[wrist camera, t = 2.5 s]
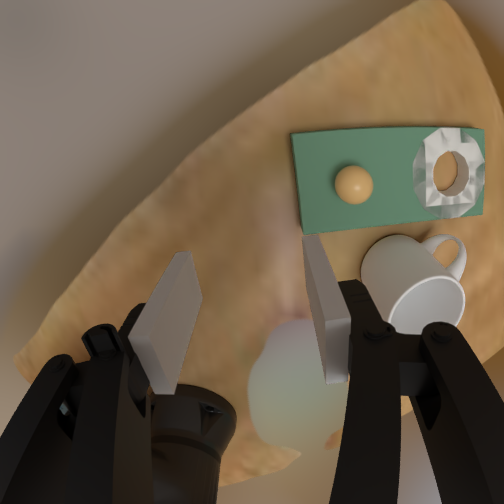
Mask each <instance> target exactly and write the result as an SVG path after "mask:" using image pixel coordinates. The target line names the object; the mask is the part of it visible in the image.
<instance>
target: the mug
mask: <svg viewBox="0 0 504 504" xmlns="http://www.w3.org/2000/svg"><path fill="white" fill-rule="evenodd" d="M446 240H455V241H456V242H457V243H458V246H459V252H458V255H457V257H456V258H455V260H454V261H453V262H452V263H451V264H450V265H449V266H448V267H447V268H444V267H443V266H442V265H441V264H440V263H439V262H438V261H437V260H436V259H435V258H434V257H433V256H432V255H433V253H434V251H435V249H436V248H437V247H438V245H439V244H441V243H442V242H444V241H446ZM465 264H466V249H465V246H464V244H463V243H462V241H461V240H459V239H458V238H457V237H455V236H452V235H448V234H439V235H435V236H433V237H431V238H429V239H427V240H425V241H424V242H422V243H419V242H417V241H416V240H414V239H413V238H411V237H408V236H405V235H392V236H388V237H385V238H383V239H381V240H380V241H378V242H377V243H375V244H374V245H373V246H372V247H371V248H370V250H369V251H368V252H367V254H366V256H365V258H364V260H363V263H362V267H361V279H362V283H363V284H364V285H365V286H366V288H367V290H368V292H369V294H370V296H371V297H372V300H373V301H374V303H375V305H376V307H377V309H378V311H379V313H380V315H381V317H382V319H383V321H386V322H388V323H390V324H391V325H393V326H394V327H395V329H396V332H399V333H403V334H421V333H422V330H423V328H424V327H425V326H426V325H427V324H429V323H432V322H440V321H442V322H447V323H450V324H452V325H454V326H455V327H456V326H457V324H458V323H459V321H460V319H461V317H462V314H463V311H464V308H465V293H464V290H463V288H462V286H461V284H460V283H459V280H460V278H461V276H462V273H463V271H464V268H465Z"/></svg>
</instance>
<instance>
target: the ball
mask: <svg viewBox="0 0 504 504" xmlns="http://www.w3.org/2000/svg"><path fill="white" fill-rule="evenodd" d="M335 190H336V192H337V194H338V196H339V197H340V198H341V199H342V200H343V201H344V202H346V203H349V204H354V205H356V204H361V203H363V202H365V201H366V200H367V199H368V198H369V197H370V196H371V194H372V191H373V180H372V177H371V175H370V174H369V173H368V172H367V171H366V170H365V169H364V168H362V167H360V166H355V165H352V166H347V167H345V168H343V169H342V170H341V171H340V172H339V173H338V174H337V176H336V179H335Z"/></svg>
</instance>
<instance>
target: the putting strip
mask: <svg viewBox="0 0 504 504" xmlns="http://www.w3.org/2000/svg"><path fill="white" fill-rule="evenodd" d="M290 137H291V144H292V152H293V160H294V168H295V176H296V185H297V193H298V202H299V212H300V221H301V228H302V231H303V234H304V235H308V234H316V233H324V232H333V231H341V230H350V229H358V228H367V227H376V226H384V225H393V224H402V223H411V222H420V221H429V220H438V219H447V218H456V217H465V216H475V215H482V214H483V200H484V180H485V138H484V129H478V128H472V127H449V126H386V127H362V128H345V129H331V130H318V131H308V132H298V133H290ZM446 151H450V152H451V153H453V155H454V157H455V159H456V161H457V163H458V175H457V177H456V179H455V181H454V184H453V185H452V186H450V187H449V188H448V189H447V190H445V191H438V190H437V188H436V186H435V184H434V182H433V168H434V165H435V163H436V161H437V159H438V157H439V156H441V155H442V154H443V153H445V152H446ZM352 165H355V166H360V167H362V168H364V169H365V170H366V171H367V172H368V173H369V174H370V175H371V177H372V180H373V191H372V194H371V196H370V197H369V198H368V199H367V200H366V201H365V202H363V203H361V204H356V205H354V204H349V203H346V202H344V201H343V200H342V199H341V198H340V197H339V196H338V194H337V192H336V190H335V179H336V176H337V174H338V173H339V172H340V171H341V170H342V169H343V168H345V167H347V166H352Z"/></svg>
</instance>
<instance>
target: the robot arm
mask: <svg viewBox="0 0 504 504" xmlns="http://www.w3.org/2000/svg"><path fill="white" fill-rule="evenodd" d="M302 244H303V255H304V266H305V278H306V288H307V293H308V298H309V302H310V307H311V312H312V316H313V321H314V326H315V331H316V336H317V341H318V346H319V351H320V356H321V361H322V366H323V371H324V376H325V382H326V384H332V383H339V382H345V381H348V373H349V375H350V382H349V390H348V398H347V406H346V413H345V420H344V427H343V433H342V439H341V445H340V451H339V457H338V463H337V468H336V473H335V478H334V483H333V488H332V492H331V497H330V501H329V504H397V498H398V486H399V472H400V451H401V396H409V398H410V401H411V404H412V407H413V410H414V413H415V415H416V418H417V421H418V424H419V427H420V430H421V433H422V436H423V439H424V443H425V445H426V449H427V452H428V455H429V459H430V462H431V465H432V469H433V472H434V475H435V479H436V483H437V486H438V490H439V494H440V498H441V502H442V504H504V402H503V401H502V399H501V397H500V395H499V393H498V391H497V390H496V389H495V386H494V385H493V383H492V381H491V379H490V378H489V376H488V374H487V373H486V371H485V369H484V368H483V366H482V365H481V363H480V361H479V360H478V358H477V357H476V355H475V353H474V352H473V350H472V349H471V347H470V346H469V344H468V343H467V341H466V340H465V338H464V337H463V335H462V334H461V332H460V331H459V330H458V329H457V328H456V327H455V326H454V325H452V324H450V323H447V322H442V321H440V322H432V323H429V324H427V325H426V326H425V327H424V328H423V330H422V333H421V334H403V333H399V332H396V329H395V327H394V326H393V325H391V324H390V323H388V322H386V321H383V319H382V317H381V315H380V313H379V311H378V309H377V307H376V305H375V303H374V301H373V300H372V297H371V296H370V294H369V292H368V290H367V288H366V286H365V285H364V284H363V283H361V282H360V281H358V280H357V279H355V280H348V281H341V282H337V280H336V277H335V275H334V272H333V270H332V268H331V265H330V263H329V260H328V258H327V255H326V253H325V250H324V248H323V246H322V243H321V241H320V239H319V236H318V235H311V236H303V237H302ZM202 300H203V297H202V294H201V290H200V286H199V282H198V278H197V274H196V270H195V266H194V262H193V258H192V254H191V251H183V252H176V253H175V255H174V257H173V258H172V260H171V262H170V263H169V265H168V267H167V268H166V270H165V272H164V274H163V275H162V277H161V279H160V280H159V282H158V284H157V286H156V287H155V289H154V291H153V293H152V294H151V296H150V298H149V300H148V301H147V303H140V304H138V305H137V306H136V307H134V308H133V309H132V310H131V311H130V313H129V314H128V316H127V318H126V320H125V321H124V323H123V326H121V328H120V330H119V331H118V332H117V330H116V328H115V327H114V326H113V325H111V324H100V325H97V326H94V327H92V328H91V329H89V330H88V331H86V332H85V333H84V334H83V336H82V338H81V339H82V341H83V343H84V345H85V347H86V349H87V351H88V353H89V354H90V356H91V359H90V361H85V362H81V363H76V364H75V362H74V361H73V359H72V357H71V356H70V355H67V354H61V355H56V356H54V357H52V358H51V359H50V360H48V362H47V363H46V364H45V365H44V367H43V368H42V370H41V371H40V373H39V374H38V376H37V377H36V379H35V380H34V382H33V383H32V385H31V387H30V388H29V390H28V391H27V393H26V394H25V396H24V398H23V399H22V401H21V403H20V404H19V406H18V408H17V410H16V411H15V413H14V414H13V416H12V418H11V419H10V421H9V423H8V425H7V426H6V428H5V430H4V432H3V433H2V435H1V437H0V504H216V501H217V492H218V482H219V473H220V463H221V457H222V455H223V453H224V451H225V449H226V448H227V446H228V444H229V442H230V440H231V438H232V437H233V435H234V432H235V429H236V413H235V411H234V409H233V407H232V406H231V405H230V404H229V403H228V402H227V401H226V400H225V399H223V398H222V397H220V396H219V395H217V394H215V393H213V392H210V391H208V390H205V389H202V388H198V387H194V386H188V385H177V382H178V379H179V375H180V372H181V369H182V365H183V362H184V359H185V355H186V352H187V348H188V345H189V342H190V339H191V335H192V332H193V329H194V325H195V322H196V319H197V316H198V312H199V309H200V306H201V303H202ZM149 384H150V385H151V387H152V389H153V391H154V392H153V393H152V394H151V395H150V397H149V396H148V394H147V389H148V387H149Z"/></svg>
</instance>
